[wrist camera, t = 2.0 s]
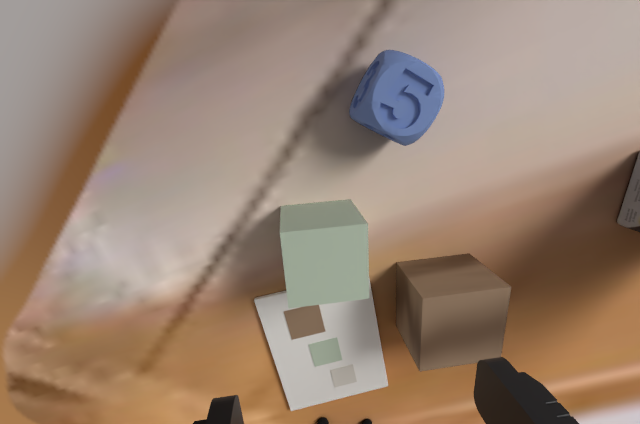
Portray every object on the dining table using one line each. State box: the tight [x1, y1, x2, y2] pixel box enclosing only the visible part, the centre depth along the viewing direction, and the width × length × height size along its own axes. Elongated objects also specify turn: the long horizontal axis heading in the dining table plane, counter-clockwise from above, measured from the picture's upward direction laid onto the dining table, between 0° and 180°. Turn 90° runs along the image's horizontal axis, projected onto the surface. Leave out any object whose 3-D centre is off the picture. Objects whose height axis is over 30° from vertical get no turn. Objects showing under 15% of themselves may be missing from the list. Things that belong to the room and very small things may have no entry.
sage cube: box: [280, 199, 369, 308], centre depth 21 cm, size 5×5×5 cm
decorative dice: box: [349, 50, 444, 146], centre depth 18 cm, size 4×4×4 cm
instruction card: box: [254, 279, 388, 411], centre depth 26 cm, size 12×9×1 cm
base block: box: [396, 254, 511, 371], centre depth 23 cm, size 6×6×5 cm
